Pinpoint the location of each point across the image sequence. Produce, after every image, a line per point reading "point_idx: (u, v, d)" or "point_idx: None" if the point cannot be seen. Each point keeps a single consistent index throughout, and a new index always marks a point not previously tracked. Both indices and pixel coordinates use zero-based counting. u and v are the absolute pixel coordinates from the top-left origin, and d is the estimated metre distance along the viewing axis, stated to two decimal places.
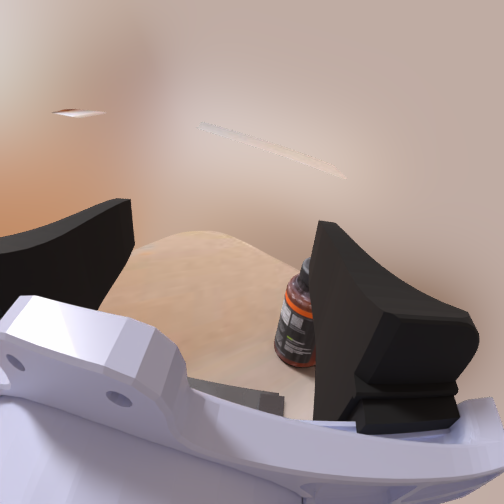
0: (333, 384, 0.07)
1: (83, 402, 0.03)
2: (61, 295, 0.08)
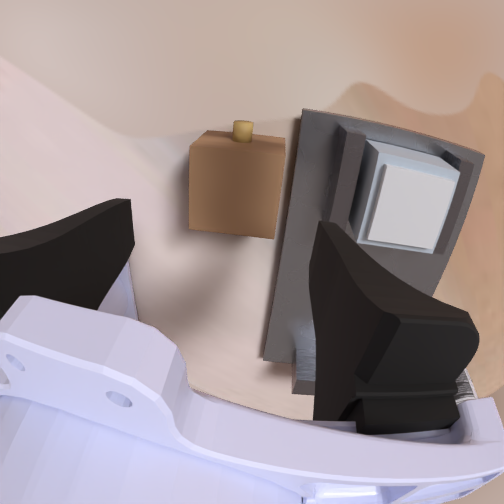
0: (333, 384, 0.07)
1: (83, 402, 0.03)
2: (61, 295, 0.08)
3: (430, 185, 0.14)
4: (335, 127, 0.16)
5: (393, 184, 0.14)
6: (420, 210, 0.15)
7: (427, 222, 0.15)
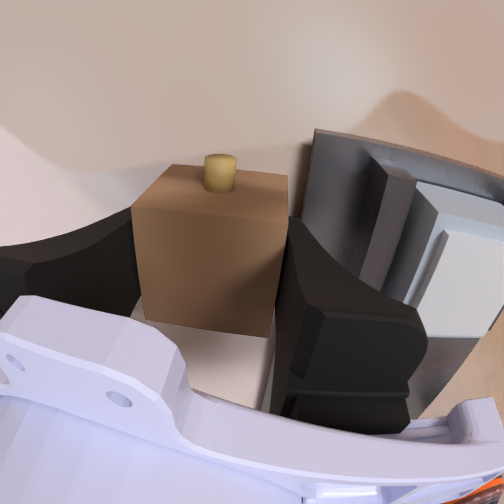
0: (280, 380, 0.07)
1: (83, 402, 0.03)
2: (98, 303, 0.08)
3: (500, 259, 0.08)
4: (364, 160, 0.11)
5: (453, 262, 0.09)
6: (481, 293, 0.09)
7: (486, 306, 0.09)
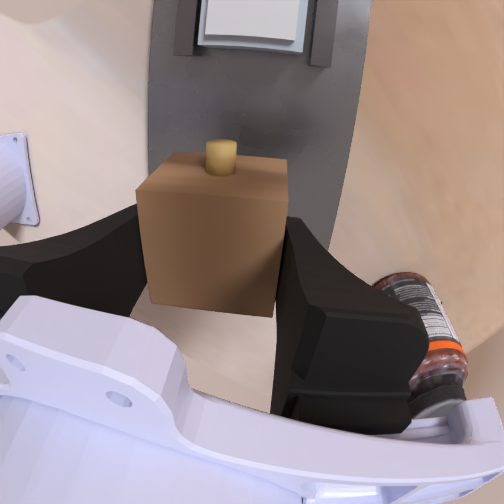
0: (281, 380, 0.07)
1: (83, 402, 0.03)
2: (97, 303, 0.08)
3: None
4: None
5: None
6: None
7: (277, 8, 0.11)
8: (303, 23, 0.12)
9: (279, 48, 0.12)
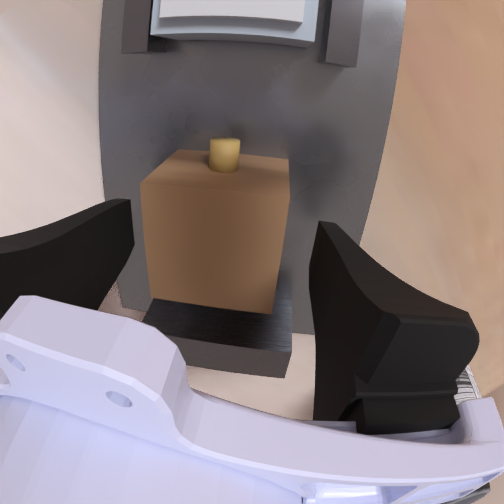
0: (333, 383, 0.07)
1: (83, 402, 0.03)
2: (61, 295, 0.08)
3: None
4: None
5: None
6: None
7: None
8: None
9: (277, 35, 0.08)
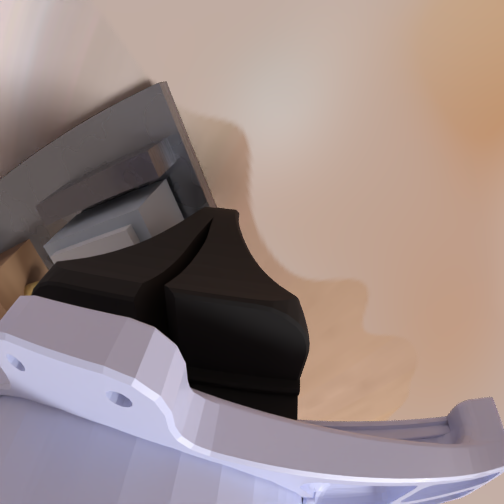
0: None
1: (83, 402, 0.03)
2: None
3: None
4: (160, 132, 0.11)
5: (114, 250, 0.10)
6: None
7: None
8: None
9: None
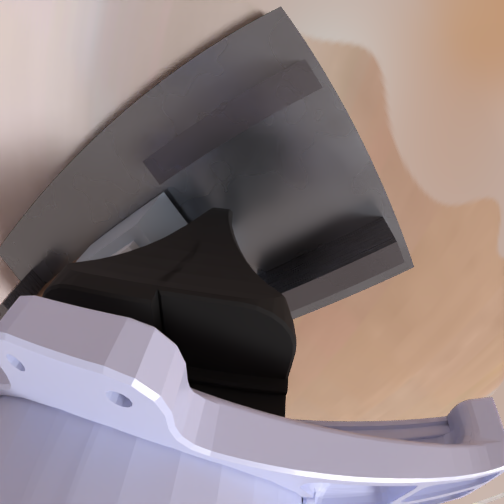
0: None
1: (83, 402, 0.03)
2: None
3: None
4: (292, 57, 0.09)
5: None
6: None
7: None
8: None
9: None
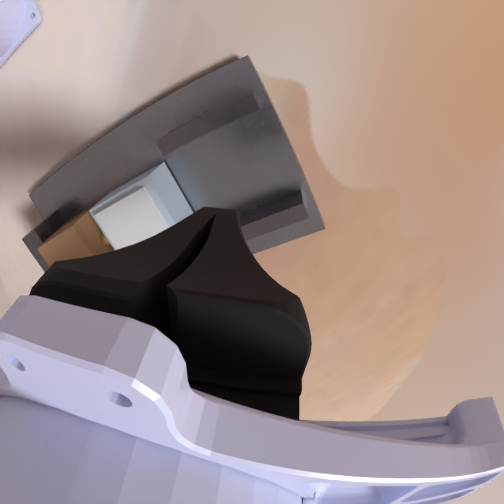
0: None
1: (83, 402, 0.03)
2: None
3: (158, 229, 0.18)
4: (250, 87, 0.17)
5: (135, 202, 0.17)
6: (138, 236, 0.19)
7: None
8: None
9: None
